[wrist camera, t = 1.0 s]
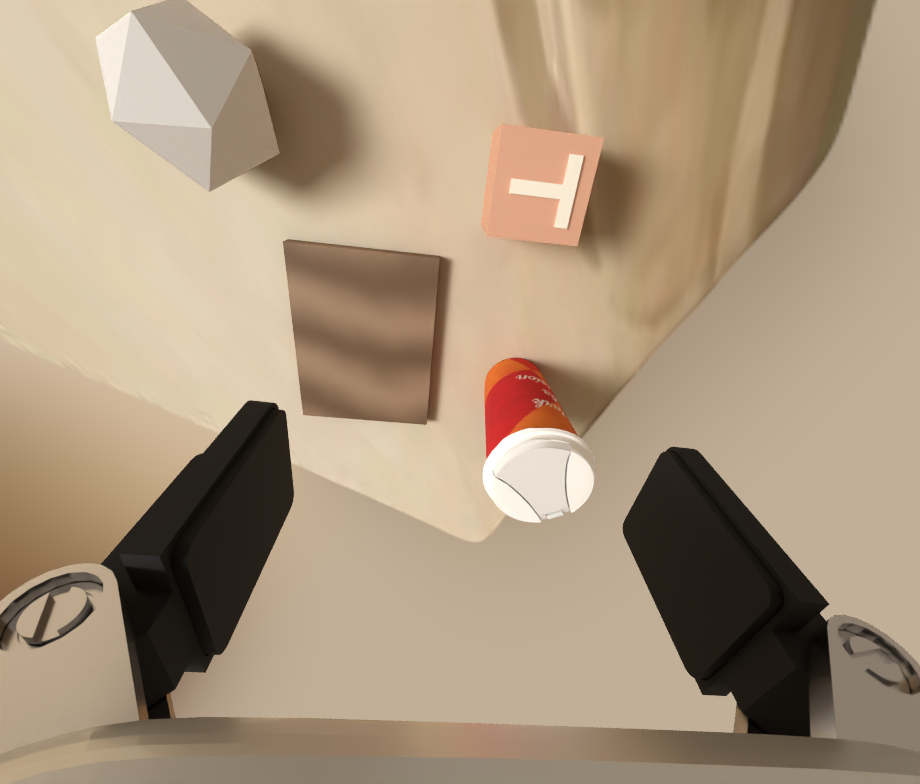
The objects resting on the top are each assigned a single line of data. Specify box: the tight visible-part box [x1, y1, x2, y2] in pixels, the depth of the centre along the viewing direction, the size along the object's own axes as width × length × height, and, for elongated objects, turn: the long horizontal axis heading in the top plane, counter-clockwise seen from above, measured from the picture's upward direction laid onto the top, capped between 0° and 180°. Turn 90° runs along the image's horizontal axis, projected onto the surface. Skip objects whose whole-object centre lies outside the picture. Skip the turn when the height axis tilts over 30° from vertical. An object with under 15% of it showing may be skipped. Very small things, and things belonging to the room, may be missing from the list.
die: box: [95, 0, 280, 192], centre depth 23 cm, size 8×9×10 cm
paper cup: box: [483, 358, 596, 522], centre depth 31 cm, size 8×8×14 cm
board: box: [283, 240, 440, 425], centre depth 34 cm, size 16×12×1 cm
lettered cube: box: [481, 124, 604, 246], centre depth 26 cm, size 6×6×6 cm
